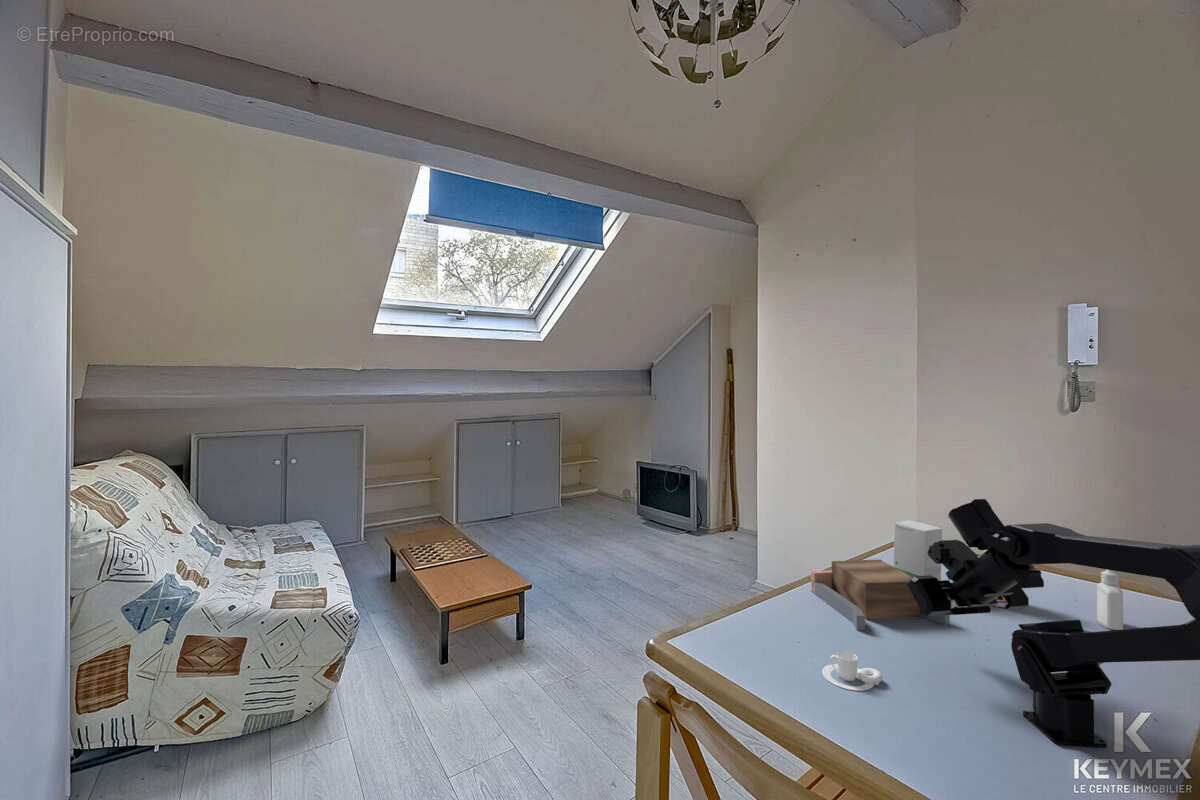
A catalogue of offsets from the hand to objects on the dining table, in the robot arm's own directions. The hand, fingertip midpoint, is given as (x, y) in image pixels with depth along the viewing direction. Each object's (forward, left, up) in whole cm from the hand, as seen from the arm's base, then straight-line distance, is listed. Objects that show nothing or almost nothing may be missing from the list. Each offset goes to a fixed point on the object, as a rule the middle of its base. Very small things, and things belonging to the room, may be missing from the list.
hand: (941, 612), depth 92 cm
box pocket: (+19, +4, -7) cm, 21 cm away
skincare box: (+32, -12, -8) cm, 35 cm away
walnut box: (+21, +3, -8) cm, 22 cm away
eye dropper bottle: (+14, -40, -8) cm, 42 cm away
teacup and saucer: (-13, +19, -8) cm, 25 cm away
